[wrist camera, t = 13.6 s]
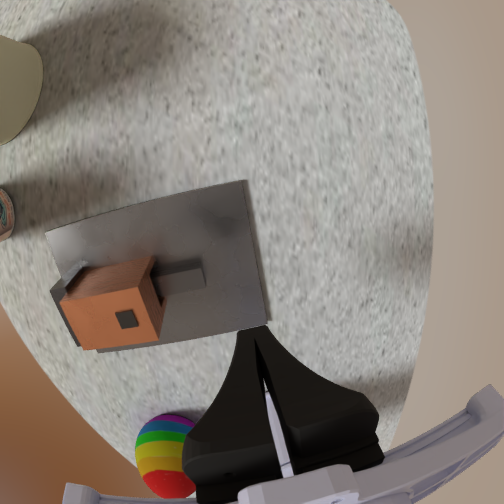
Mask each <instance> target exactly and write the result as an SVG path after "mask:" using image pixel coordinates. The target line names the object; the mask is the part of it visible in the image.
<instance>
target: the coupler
mask: <svg viewBox="0 0 504 504" xmlns="http://www.w3.org/2000/svg"><path fill="white" fill-rule="evenodd" d="M45 234H46V237H47V240H48V243H49V246H50V248H51V251H52V254H53V257H54V259H55V262H56V265H57V267H58V270H59V272H60V275H61V279H60V280H59V281H58V282H57V283H56V284H55V285H54V286H53V287H52V288H51V290H50V293H51V295H52V297H53V300H54V302H55V304H56V306H57V308H58V310H59V312H60V314H61V316H62V318H63V320H64V322H65V324H66V326H67V328H68V330H69V332H70V334H71V336H72V337H73V339H74V341H75V343H76V345H77V346H78V347H79V346H81V344H80V343H79V341H78V339H77V337H76V335H75V333H74V331H73V330H72V328H71V326H70V324H69V322H68V320H67V318H66V316H65V314H64V312H63V309H62V307H61V305H60V303H59V302H60V301H61V300H62V299H63V297H64V296H65V295H66V293H67V292H68V291H69V290H70V288H71V287H72V286H73V285H74V283H75V282H76V281H77V280H78V279H79V277H80V276H81V275H82V274H83V273H84V271H88V270H92V269H96V268H100V267H105V266H109V265H113V264H118V263H122V262H126V261H131V260H135V259H139V258H144V257H148V256H152V258H153V261H154V265H153V267H152V269H151V272H150V274H149V275H150V278H151V281H152V284H153V286H154V289H155V292H156V295H157V298H158V297H163V296H165V297H166V300H167V304H166V309H165V313H164V318H163V323H162V328H161V332H160V337H159V340H158V341H152V342H145V343H139V344H132V345H125V346H117V347H109V348H101V349H96V350H97V352H98V353H104V352H113V351H121V350H128V349H135V348H142V347H149V346H156V345H162V344H168V343H174V342H180V341H186V340H191V339H197V338H202V337H207V336H213V335H218V334H223V333H228V332H232V331H237V330H242V329H247V328H251V327H256V326H260V325H264V324H268V323H267V318H266V312H265V307H264V301H263V296H262V290H261V285H260V279H259V274H258V268H257V263H256V257H255V252H254V246H253V241H252V236H251V230H250V225H249V219H248V214H247V208H246V203H245V197H244V192H243V187H242V181H241V180H238V181H233V182H228V183H224V184H219V185H214V186H209V187H205V188H200V189H196V190H191V191H187V192H183V193H178V194H174V195H170V196H166V197H162V198H158V199H154V200H150V201H146V202H142V203H139V204H135V205H131V206H128V207H124V208H120V209H117V210H113V211H110V212H106V213H103V214H100V215H96V216H93V217H90V218H86V219H83V220H80V221H77V222H73V223H70V224H67V225H64V226H61V227H58V228H55V229H52V230H49V231H47V232H45Z"/></svg>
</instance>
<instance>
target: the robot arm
mask: <svg viewBox="0 0 504 504" xmlns="http://www.w3.org/2000/svg"><path fill="white" fill-rule="evenodd" d="M263 378H264V379H263ZM264 381H265V384H266V386H267V389H268V392H266V393H265V387H264ZM378 421H379V414H378V412H377V410H376V408H375V407H374V406H373V404H372V403H371V402H370V401H369V399H368V398H367V397H366V396H365V395H364V394H363V393H359V392H356V391H353V390H350V389H347V388H344V387H342V386H339V385H337V384H335V383H333V382H331V381H329V380H327V379H325V378H323V377H321V376H320V375H318V374H316V373H315V372H313V371H312V370H310V369H309V368H307V367H306V366H305V365H303V364H302V363H301V362H300V361H298V360H297V359H296V358H295V357H294V356H292V355H291V354H290V353H289V352H288V351H287V350H286V349H285V348H284V347H283V346H282V345H281V344H280V343H279V341H278V340H277V339H276V338H275V337H274V335H273V334H272V333H271V331H270V330H269V328H268V326H266V325H262V326H258V327H254V328H249V329H244V330H240V331H238V332H237V340H236V346H235V351H234V354H233V358H232V362H231V365H230V367H229V370H228V373H227V376H226V378H225V380H224V382H223V385H222V387H221V389H220V391H219V392H218V394H217V396H216V398H215V399H214V401H213V403H212V404H211V406H210V407H209V408H208V410H207V411H206V413H205V414H204V415H203V417H202V418H201V419H200V420H199V422H198V423H197V424H196V425H195V426H194V427H193V428H192V429H191V430H190V431H189V432H188V433H187V434H186V436H185V440H184V444H183V450H182V470H183V472H184V473H185V474H186V476H187V477H188V478H189V479H190V480H191V481H192V482H193V483H194V484H195V485H196V498H175V499H159V498H134V497H120V496H111V495H103V494H99V493H98V492H97V491H96V490H94V489H93V488H91V487H88V486H84V485H79V484H73V483H66V488H65V492H64V497H63V502H62V504H414V503H416V502H417V501H419V500H421V499H423V498H424V497H426V496H428V495H429V494H431V493H432V492H434V491H436V490H437V489H439V488H440V487H442V486H443V485H445V484H446V483H448V482H449V481H450V480H452V479H453V478H455V477H456V476H457V475H459V474H460V473H462V472H463V471H464V470H466V469H467V468H468V467H470V466H471V465H472V464H474V463H475V462H476V461H477V460H479V459H480V458H481V457H482V456H484V455H485V454H486V453H488V452H489V451H490V450H491V449H492V448H493V447H495V446H496V445H497V443H498V442H499V441H500V440H501V439H502V437H503V436H504V399H503V398H502V396H501V395H500V394H499V393H498V392H497V391H496V390H495V389H494V387H493V386H492V385H491V384H489V385H487V386H486V387H484V388H483V389H482V390H480V391H479V392H477V393H476V394H475V395H474V396H473V397H472V398H471V399H470V400H469V402H468V403H467V406H466V408H465V409H463V410H462V411H460V412H459V413H457V414H456V415H454V416H453V417H451V418H449V419H448V420H446V421H444V422H443V423H441V424H439V425H438V426H436V427H434V428H432V429H431V430H429V431H427V432H425V433H423V434H421V435H420V436H418V437H416V438H414V439H412V440H410V441H408V442H406V443H404V444H402V445H400V446H398V447H396V448H393V449H391V450H389V451H387V452H384V453H383V452H382V450H381V448H380V446H379V444H378V442H379V439H378V437H377V435H376V433H375V432H376V428H377V425H378Z"/></svg>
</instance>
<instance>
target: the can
mask: <svg viewBox="0 0 504 504" xmlns="http://www.w3.org/2000/svg"><path fill="white" fill-rule="evenodd" d="M42 82H43V64H42V59H41V57H40V54H39V53H38V51H37V50H36V49H35V48H34V47H33V46H32V45H30V44H27V43H20V42H17V41H15V40H12V39H10V38H7V37H5V36H2V35H0V145H3V144H5V143H7V142H9V141H10V140H12V139H13V138H14V137H15V136H16V135H17V134H18V133H19V132H20V131H21V130H22V129H23V127H24V126H25V125H26V123H27V122H28V120H29V119H30V117H31V115H32V113H33V111H34V109H35V107H36V104H37V102H38V99H39V96H40V92H41V88H42Z"/></svg>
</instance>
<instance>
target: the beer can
mask: <svg viewBox="0 0 504 504" xmlns="http://www.w3.org/2000/svg"><path fill="white" fill-rule="evenodd" d="M14 221H15V215H14V208H13V204H12V202H11V199H10V197H9V196H8V194H7V193H6V192H5V191H4V190H2V189H1V188H0V242H1V241H4V240H6V239H7V238H8V237H9V236H10V235H11V233H12V231H13V227H14Z"/></svg>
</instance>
